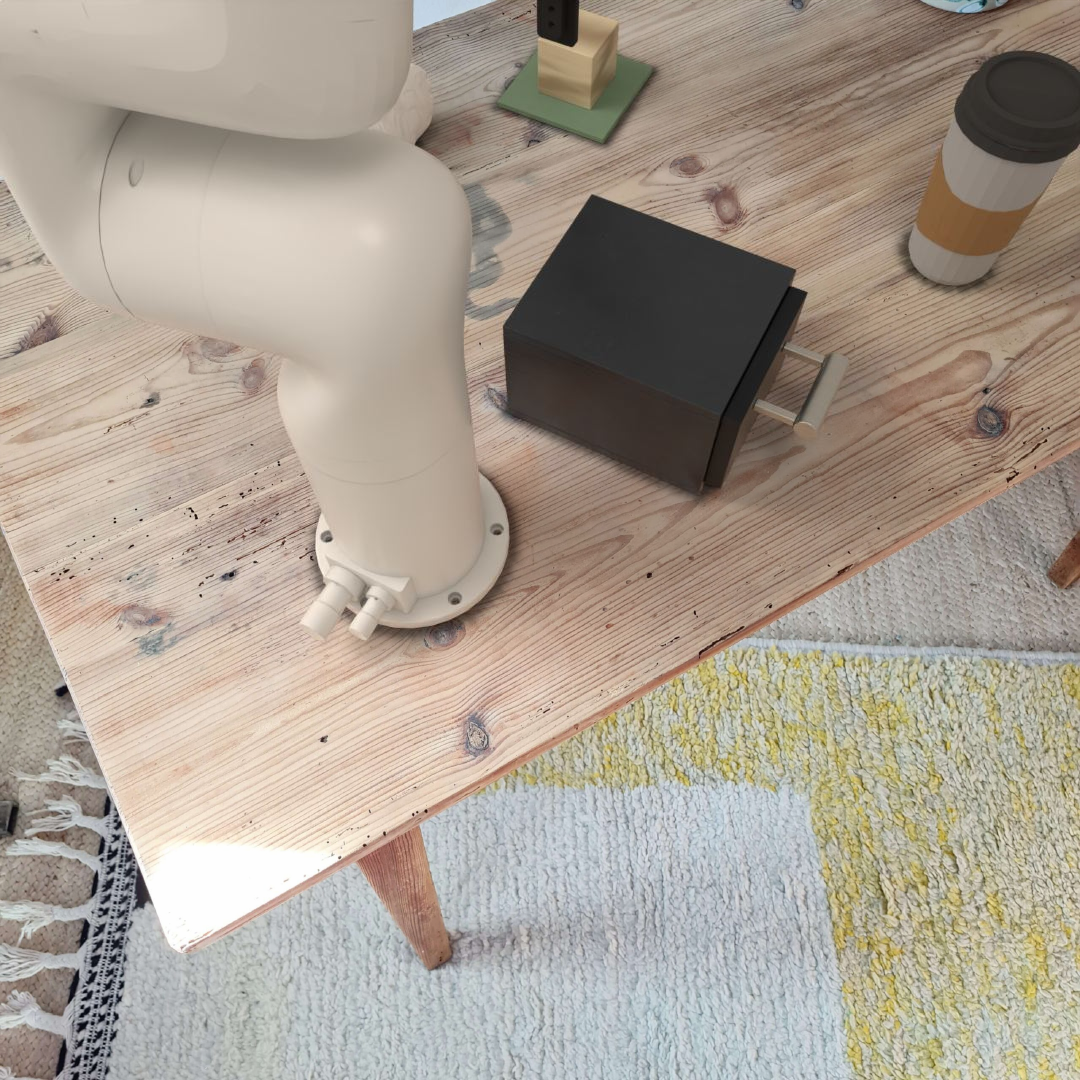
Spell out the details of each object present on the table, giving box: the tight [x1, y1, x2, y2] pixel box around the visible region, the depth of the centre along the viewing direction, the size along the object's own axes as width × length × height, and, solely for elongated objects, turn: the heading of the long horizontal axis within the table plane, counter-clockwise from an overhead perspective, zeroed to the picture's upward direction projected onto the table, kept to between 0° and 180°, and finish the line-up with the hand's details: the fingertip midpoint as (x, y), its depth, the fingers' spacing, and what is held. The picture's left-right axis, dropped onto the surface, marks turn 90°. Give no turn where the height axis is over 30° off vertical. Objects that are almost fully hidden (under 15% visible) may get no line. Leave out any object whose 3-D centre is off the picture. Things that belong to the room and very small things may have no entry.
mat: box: [497, 49, 654, 145], centre depth 84 cm, size 10×10×1 cm
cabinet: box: [502, 194, 797, 496], centre depth 66 cm, size 15×13×10 cm
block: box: [537, 8, 620, 110], centre depth 81 cm, size 5×5×5 cm
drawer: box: [704, 286, 851, 490], centre depth 65 cm, size 18×11×8 cm, turn 63°
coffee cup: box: [907, 49, 1080, 287], centre depth 68 cm, size 8×8×15 cm
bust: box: [367, 62, 435, 146], centre depth 77 cm, size 12×8×11 cm
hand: (585, 4), depth 76 cm, fingers open, 9 cm apart
